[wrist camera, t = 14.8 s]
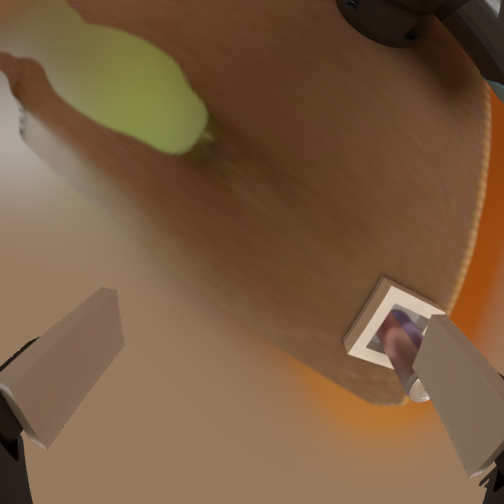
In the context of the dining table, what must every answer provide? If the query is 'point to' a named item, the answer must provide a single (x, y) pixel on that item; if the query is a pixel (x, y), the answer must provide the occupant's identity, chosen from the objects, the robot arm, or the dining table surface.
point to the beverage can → (403, 351)
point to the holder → (375, 311)
